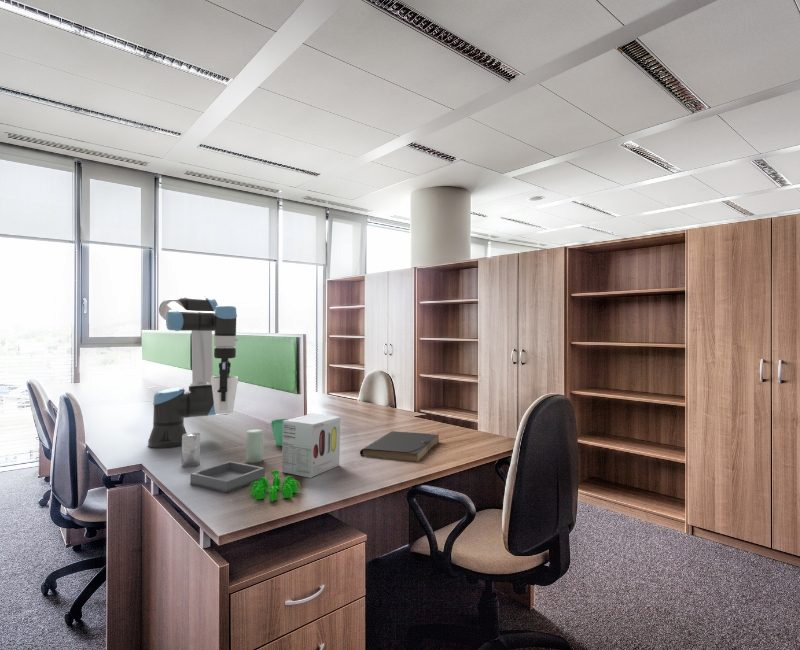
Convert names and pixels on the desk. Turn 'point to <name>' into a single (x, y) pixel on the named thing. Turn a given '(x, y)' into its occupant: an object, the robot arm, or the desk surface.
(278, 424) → the mug
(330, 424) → the supplement box
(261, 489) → the green leafy sprig
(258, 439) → the sage canister
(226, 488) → the tray
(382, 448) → the dark grey book
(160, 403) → the robot arm
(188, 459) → the steel canister
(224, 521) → the desk surface
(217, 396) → the foam cup
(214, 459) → the desk surface
